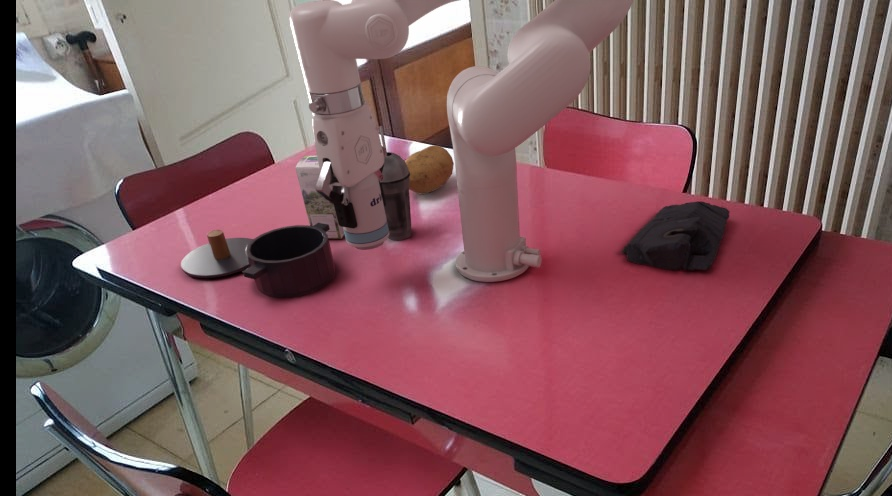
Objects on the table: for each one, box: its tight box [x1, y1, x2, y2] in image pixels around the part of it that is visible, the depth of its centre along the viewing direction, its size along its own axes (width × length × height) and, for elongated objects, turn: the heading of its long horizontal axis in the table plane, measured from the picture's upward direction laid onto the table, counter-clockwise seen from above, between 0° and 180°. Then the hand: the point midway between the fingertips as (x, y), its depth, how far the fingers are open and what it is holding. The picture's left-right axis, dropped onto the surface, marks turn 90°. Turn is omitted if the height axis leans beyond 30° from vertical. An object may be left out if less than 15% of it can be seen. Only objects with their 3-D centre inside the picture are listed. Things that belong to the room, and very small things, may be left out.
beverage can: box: [338, 173, 389, 251], centre depth 107 cm, size 7×7×12 cm
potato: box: [404, 145, 455, 195], centre depth 143 cm, size 10×14×8 cm
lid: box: [180, 229, 254, 279], centre depth 124 cm, size 14×14×6 cm
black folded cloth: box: [621, 200, 730, 272], centre depth 118 cm, size 15×22×5 cm
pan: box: [242, 223, 336, 299], centre depth 116 cm, size 13×19×7 cm
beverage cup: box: [379, 125, 412, 241], centre depth 123 cm, size 7×7×20 cm
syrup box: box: [294, 155, 345, 240], centre depth 127 cm, size 6×6×14 cm
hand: (363, 215), depth 108 cm, fingers closed on beverage can, 7 cm apart
